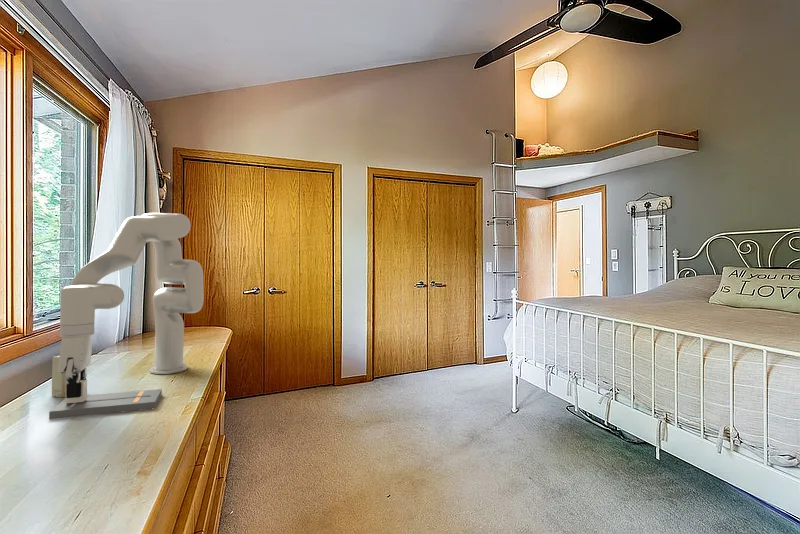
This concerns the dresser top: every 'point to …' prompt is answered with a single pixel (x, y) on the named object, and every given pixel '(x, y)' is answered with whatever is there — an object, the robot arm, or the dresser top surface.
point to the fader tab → (83, 394)
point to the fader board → (107, 404)
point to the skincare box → (58, 379)
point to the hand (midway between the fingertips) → (76, 394)
